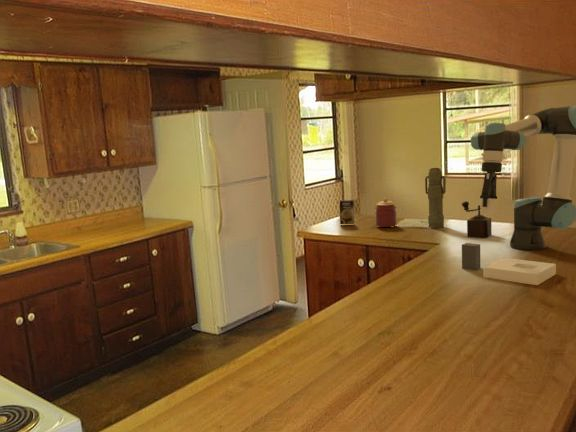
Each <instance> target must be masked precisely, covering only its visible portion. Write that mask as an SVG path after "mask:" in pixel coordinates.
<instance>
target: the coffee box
mask: <svg viewBox="0 0 576 432" xmlns="http://www.w3.org/2000/svg"><path fill="white" fill-rule="evenodd" d="M354 223H355V200H354V199H344V200H342V199H340V200H339V225H340V224H354Z"/></svg>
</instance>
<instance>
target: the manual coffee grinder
mask: <svg viewBox="0 0 576 432" xmlns="http://www.w3.org/2000/svg"><path fill="white" fill-rule="evenodd" d="M469 205H470V202H469V201H466V200H465V201H463V202H462V203H461V206H462V207H463V208H464V209H463V211H465V213H470V212H478V213H477V214H476V215H474V216H472V217H470V218H468V219H466V227H467V230H466V233H467V238H472V239H473V238H475V239H487V238H490V237H491V236H492V217H488V216H486V215H481V204H480V205H477V208H475V209H470V207H469Z"/></svg>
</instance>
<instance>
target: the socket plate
mask: <svg viewBox="0 0 576 432" xmlns="http://www.w3.org/2000/svg"><path fill="white" fill-rule="evenodd" d="M482 274H483V278H487V279H493V280H500V281H507V282H508V281H509V282H514V283H520V284H527V285H534V286H538V285H540V284H541V283H543V282H545V281H547V280H549V279H550V278H553V276H555V275H556V274H557V264H556V263H549V262H543V261H542V262H541V261H534V260H525V259H517V258H516V259H515V258H508V257H502V258H499V259H498V260H496V261H494V262H492V263H490V264H487V265H485V266H483V273H482Z"/></svg>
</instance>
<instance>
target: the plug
mask: <svg viewBox="0 0 576 432" xmlns="http://www.w3.org/2000/svg"><path fill="white" fill-rule="evenodd" d="M461 269H464V270H472V271H478V270H480V269H481V244H480V243H472V242H471V243H470V242H465V243H462V244H461Z"/></svg>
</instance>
